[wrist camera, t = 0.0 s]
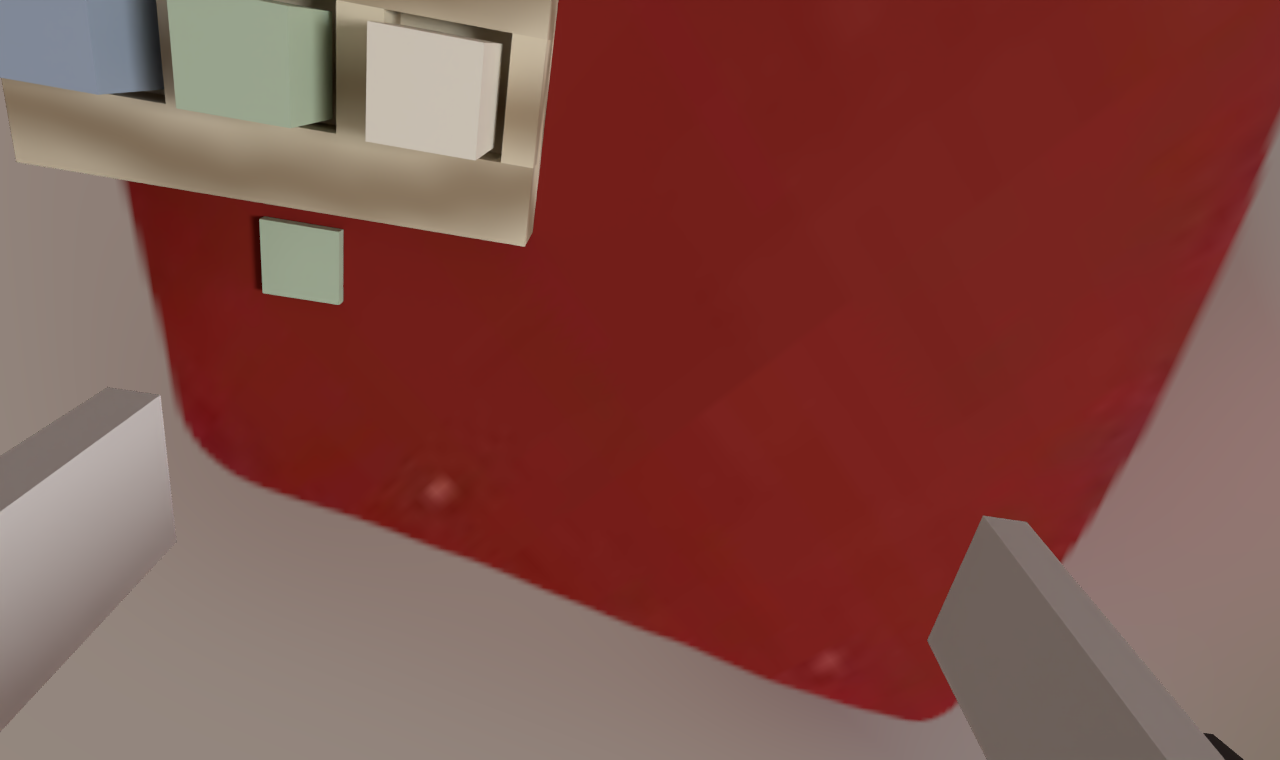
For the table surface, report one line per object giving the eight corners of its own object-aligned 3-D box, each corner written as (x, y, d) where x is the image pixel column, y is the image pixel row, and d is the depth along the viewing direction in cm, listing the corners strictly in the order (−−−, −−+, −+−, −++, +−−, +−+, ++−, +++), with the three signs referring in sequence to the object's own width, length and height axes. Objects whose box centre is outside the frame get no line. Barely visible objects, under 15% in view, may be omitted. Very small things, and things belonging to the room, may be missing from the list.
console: (15, -160, 31) (-45, -180, 28) (563, -50, 33) (557, -60, 30) (62, 153, 36) (16, 161, 33) (532, 232, 38) (524, 246, 35)
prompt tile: (264, 216, 37) (259, 218, 37) (343, 229, 38) (338, 232, 37) (267, 289, 39) (262, 293, 38) (342, 301, 39) (339, 304, 39)
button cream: (401, 24, 32) (367, 20, 28) (503, 43, 32) (484, 42, 28) (398, 130, 34) (365, 141, 30) (494, 147, 34) (475, 160, 30)
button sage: (226, -9, 31) (165, -17, 27) (332, 11, 32) (287, 5, 28) (232, 101, 33) (176, 108, 29) (332, 118, 33) (290, 128, 29)
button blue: (44, -43, 31) (-46, -57, 27) (154, -22, 31) (82, -33, 27) (61, 70, 33) (-21, 73, 28) (164, 89, 33) (98, 94, 29)
